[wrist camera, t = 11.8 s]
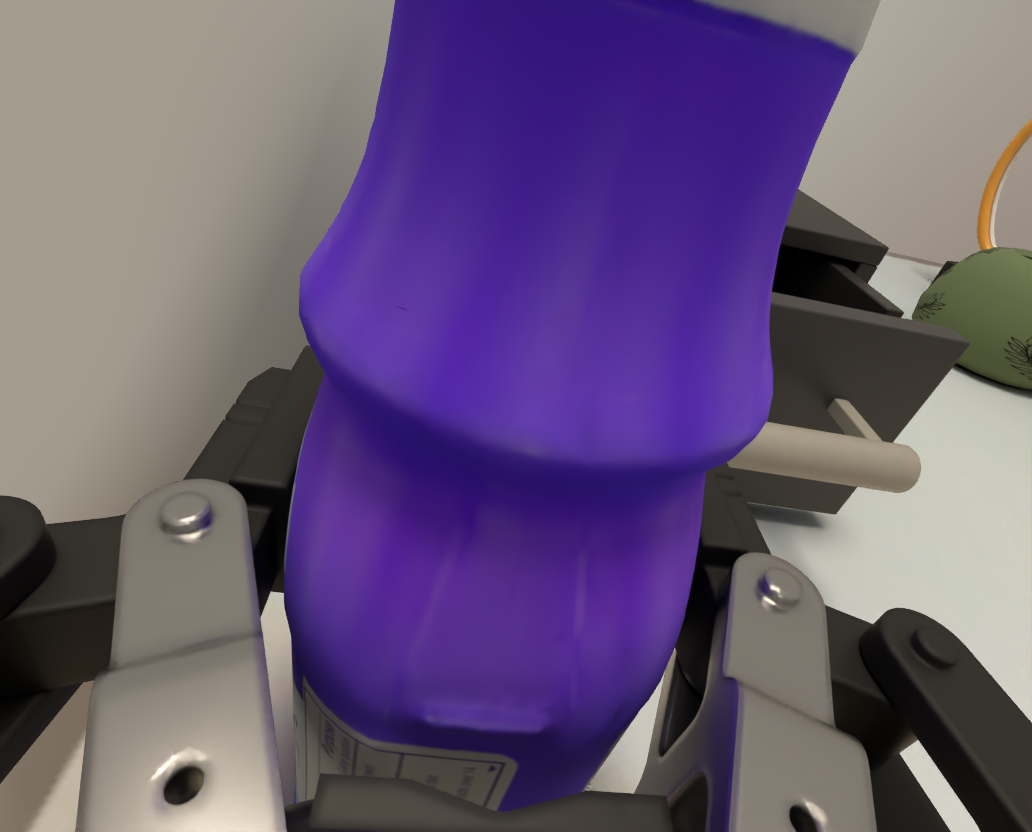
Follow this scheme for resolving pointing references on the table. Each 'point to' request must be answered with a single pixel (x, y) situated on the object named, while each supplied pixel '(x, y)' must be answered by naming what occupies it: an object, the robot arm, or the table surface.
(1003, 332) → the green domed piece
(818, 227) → the cabinet
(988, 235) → the lamp
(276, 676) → the table surface
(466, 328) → the bottle
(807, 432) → the drawer
